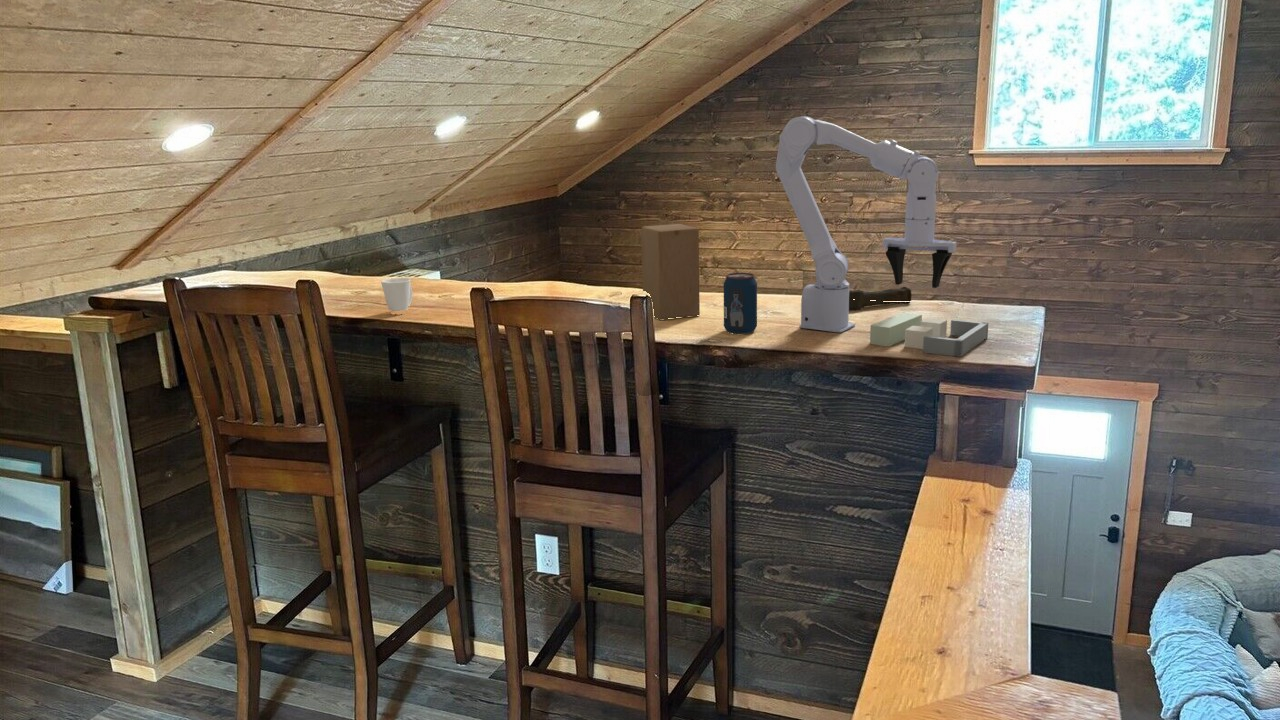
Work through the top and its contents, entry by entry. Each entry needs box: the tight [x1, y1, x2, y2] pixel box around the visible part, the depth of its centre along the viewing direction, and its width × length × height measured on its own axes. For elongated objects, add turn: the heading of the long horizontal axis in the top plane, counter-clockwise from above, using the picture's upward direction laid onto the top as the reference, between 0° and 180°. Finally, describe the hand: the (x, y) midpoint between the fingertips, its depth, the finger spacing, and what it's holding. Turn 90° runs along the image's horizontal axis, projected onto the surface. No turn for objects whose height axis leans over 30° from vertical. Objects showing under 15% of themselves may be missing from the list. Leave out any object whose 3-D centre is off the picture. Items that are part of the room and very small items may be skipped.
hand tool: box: [849, 286, 912, 312], centre depth 221 cm, size 19×4×5 cm, turn 110°
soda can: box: [723, 272, 758, 335], centre depth 200 cm, size 7×7×12 cm
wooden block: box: [640, 223, 701, 320], centre depth 216 cm, size 10×10×20 cm
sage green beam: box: [869, 312, 923, 347], centre depth 192 cm, size 4×14×4 cm, turn 139°
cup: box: [380, 277, 413, 312], centre depth 229 cm, size 7×10×8 cm
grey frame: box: [922, 318, 989, 358], centre depth 185 cm, size 7×17×3 cm, turn 145°
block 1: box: [904, 326, 933, 350], centre depth 185 cm, size 4×4×4 cm
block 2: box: [920, 317, 948, 338], centre depth 191 cm, size 4×4×4 cm
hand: (917, 285), depth 195 cm, fingers open, 7 cm apart
